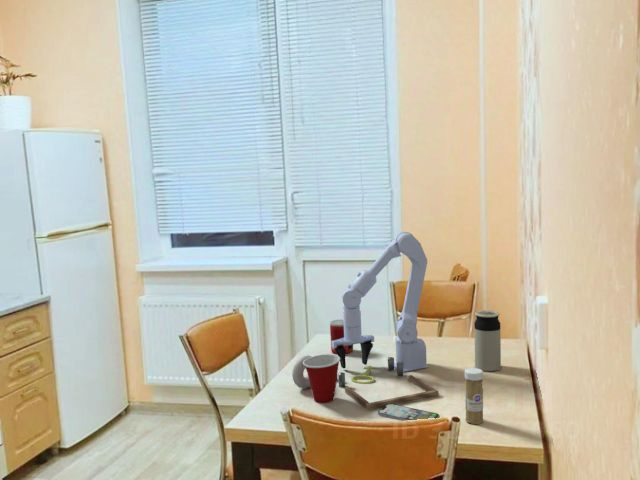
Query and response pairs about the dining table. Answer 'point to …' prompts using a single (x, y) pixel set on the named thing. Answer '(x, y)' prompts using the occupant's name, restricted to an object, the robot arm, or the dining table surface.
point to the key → (364, 377)
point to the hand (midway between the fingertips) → (354, 365)
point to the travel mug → (487, 341)
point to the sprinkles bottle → (474, 395)
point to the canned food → (338, 334)
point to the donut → (300, 373)
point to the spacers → (390, 368)
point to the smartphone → (405, 413)
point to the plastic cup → (322, 376)
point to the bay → (399, 400)
